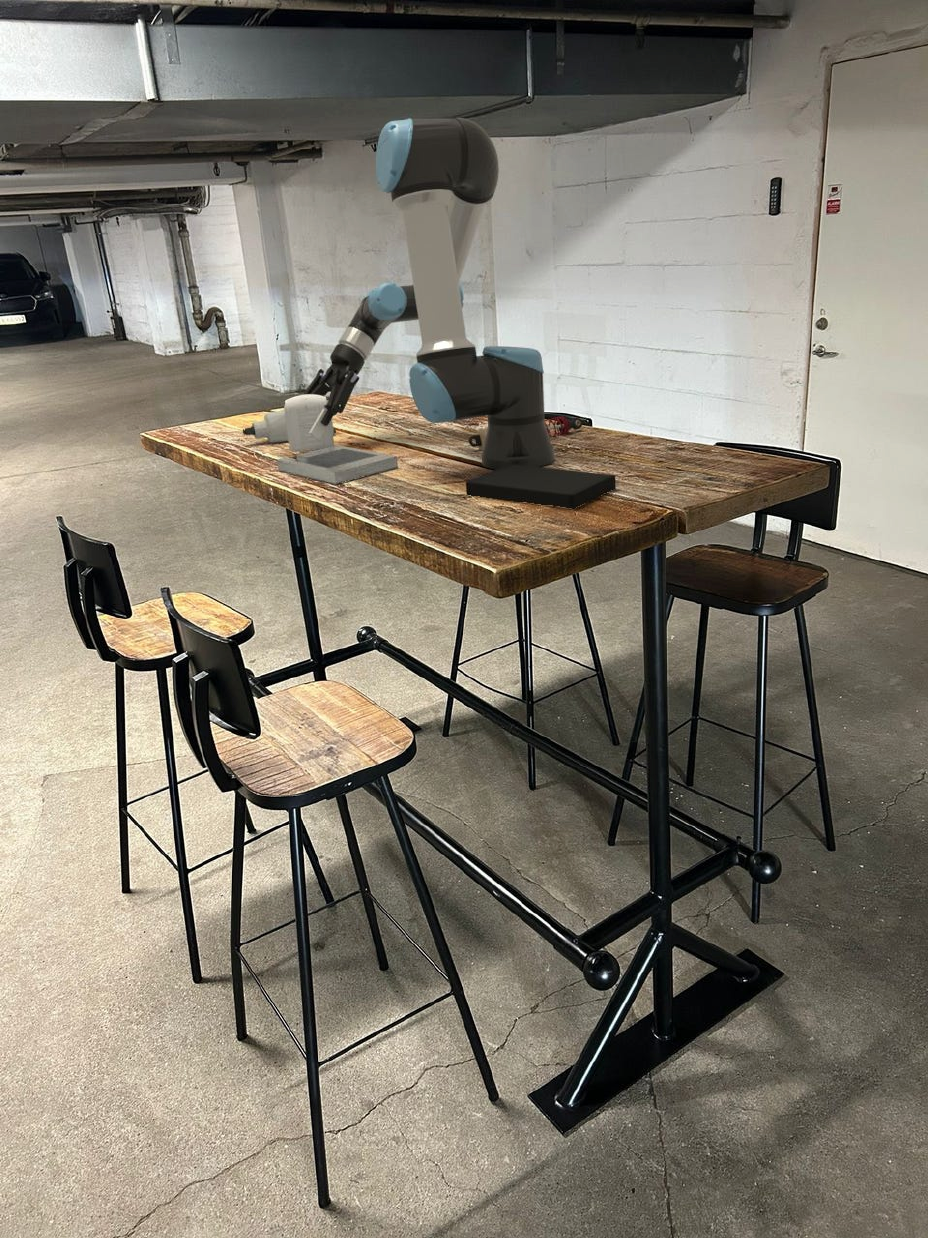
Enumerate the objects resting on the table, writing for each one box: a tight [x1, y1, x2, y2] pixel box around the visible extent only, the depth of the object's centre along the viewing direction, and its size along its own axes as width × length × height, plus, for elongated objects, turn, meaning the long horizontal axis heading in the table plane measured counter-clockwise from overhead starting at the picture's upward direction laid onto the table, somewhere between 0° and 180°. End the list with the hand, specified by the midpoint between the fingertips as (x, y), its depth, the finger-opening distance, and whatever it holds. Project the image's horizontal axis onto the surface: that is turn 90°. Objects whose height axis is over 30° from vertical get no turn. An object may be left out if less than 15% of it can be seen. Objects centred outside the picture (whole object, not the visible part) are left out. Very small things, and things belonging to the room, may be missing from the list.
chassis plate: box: [276, 444, 399, 485], centre depth 191 cm, size 22×16×2 cm
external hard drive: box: [465, 464, 616, 510], centre depth 162 cm, size 14×23×3 cm, turn 52°
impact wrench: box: [242, 409, 337, 444], centre depth 232 cm, size 8×23×25 cm
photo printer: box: [283, 394, 335, 452], centre depth 203 cm, size 10×4×12 cm, turn 98°
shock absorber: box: [468, 415, 583, 451], centre depth 203 cm, size 5×5×30 cm
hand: (303, 434), depth 203 cm, fingers closed on photo printer, 8 cm apart
